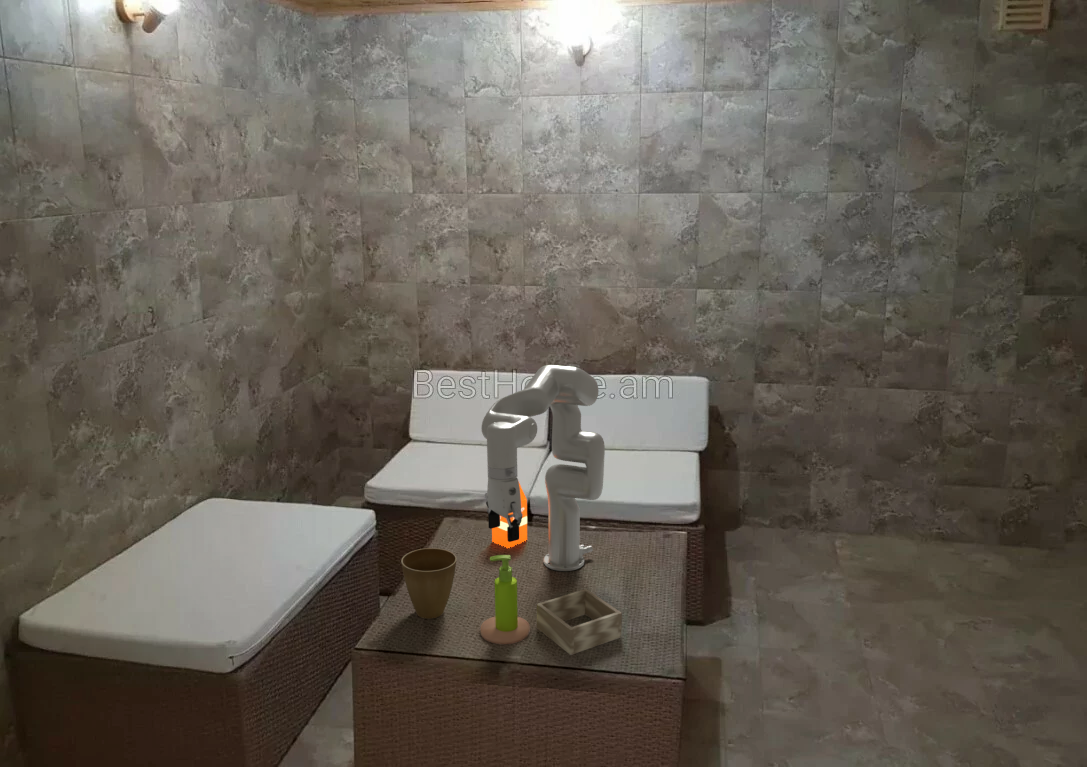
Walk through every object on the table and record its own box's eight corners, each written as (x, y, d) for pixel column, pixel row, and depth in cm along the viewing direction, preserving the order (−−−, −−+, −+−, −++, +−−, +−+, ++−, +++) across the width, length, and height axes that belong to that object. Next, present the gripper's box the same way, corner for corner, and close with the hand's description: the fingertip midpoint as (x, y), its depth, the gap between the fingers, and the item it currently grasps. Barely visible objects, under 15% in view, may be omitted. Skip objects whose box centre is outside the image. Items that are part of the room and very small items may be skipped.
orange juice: (527, 540, 295) (527, 482, 290) (508, 548, 289) (507, 490, 284) (510, 533, 300) (510, 477, 295) (491, 541, 294) (490, 484, 289)
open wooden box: (586, 611, 249) (586, 588, 247) (621, 637, 236) (621, 612, 234) (536, 627, 240) (536, 603, 239) (570, 655, 227) (570, 629, 226)
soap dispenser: (491, 621, 241) (489, 552, 237) (516, 619, 242) (515, 551, 237) (492, 632, 236) (490, 562, 231) (518, 631, 236) (517, 560, 232)
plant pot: (435, 631, 239) (433, 575, 235) (392, 616, 247) (389, 562, 243) (469, 607, 251) (467, 554, 247) (427, 594, 259) (425, 543, 255)
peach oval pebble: (513, 614, 247) (513, 610, 247) (539, 635, 237) (538, 631, 236) (471, 627, 241) (471, 623, 240) (495, 649, 230) (495, 645, 230)
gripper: (533, 478, 223) (533, 542, 227) (498, 458, 237) (499, 519, 241) (506, 484, 219) (508, 549, 223) (473, 464, 233) (474, 525, 237)
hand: (503, 533), depth 232 cm, fingers open, 9 cm apart
